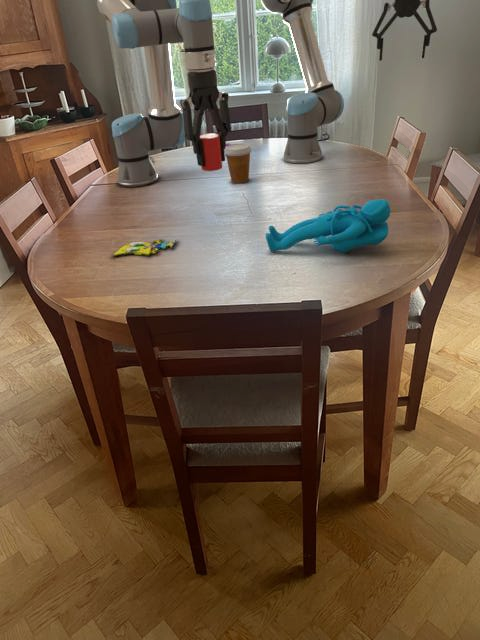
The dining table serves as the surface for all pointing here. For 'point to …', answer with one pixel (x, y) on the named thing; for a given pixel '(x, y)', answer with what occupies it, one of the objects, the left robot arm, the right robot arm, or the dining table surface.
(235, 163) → the disposable coffee cup
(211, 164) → the can
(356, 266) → the dining table surface
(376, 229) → the toy
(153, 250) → the toy
